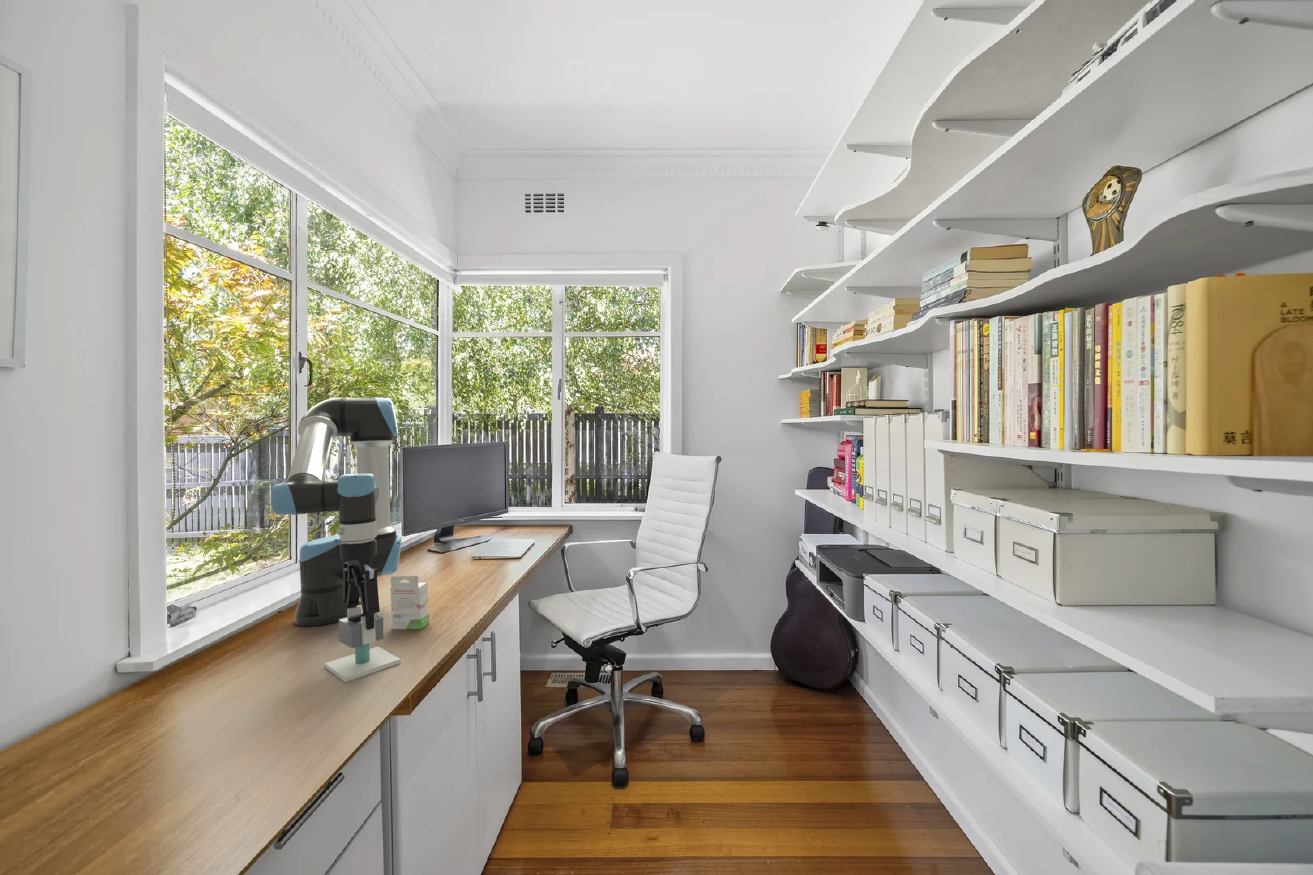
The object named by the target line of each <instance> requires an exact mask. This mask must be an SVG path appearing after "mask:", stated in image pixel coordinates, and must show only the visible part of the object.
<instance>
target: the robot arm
mask: <svg viewBox="0 0 1313 875" xmlns="http://www.w3.org/2000/svg"><path fill="white" fill-rule="evenodd" d="M393 402H394V401H392V400H391V399H390V398H387V397H375V396H373V397H333V398H328V399H326V400H323V401H320V402H319V403H317V404H316V405H314V406H312V407H311V408H309V409H308V410H307V411H306V412H305V414H304V415H303V416H302V417H301V419H300V421H299V424H298V429H297V432H298V435H299V439H298V443H297V446H296V449H295V452H294V456H293V459H292V462H291V466H290V469H289V473H288V477H287V480H286V482H282V483H276V484H274V485H273V486H272V488H271V491H270V506H271V509H272V512H273V513H274V514H275V515H278V516H285V515H290V516H291V515H293V516H296V515H305V514H308V515H309V514H317V513H329V512H330V513H332V512H338V515H339V516H338V517H339V518H338V519H339V520H338V521H339V522H338V523H339V525H338V526H339V528H337V530H336V531H337V533H339V535H338V534H334V535H329V536H326V537H321V538H317V539H313V540H310V541H308V542H305V543H304V544H302V546H301V547H300V549H299V559H298V563H299V577H300V596H299V600H298V604H297V607H296V609H295V613H294V624H295V625H297V626H300V627H317V626H324V625H325V626H326V625H329V624H335V623H339V619H343V618H347V617H351V616H355V615H359V614H361V615H360V617H361V630H362V644H363V645H365V644H368V643H369V644H372V643H374V642H376V634H375V614H377V613H379V612H380V611H381V608H380V601H379V600H380V599H379V597H380V596H379V586H378V585H379V584H378V577H383V576H387V575H393V574H395V573H396V572H397V571H398V569H399V563H400V558H401V557H400V556H401V546H402V538H403V537H402V535H401V534H397V529H396V528H395V527H394V526H393V525H392V522H391V521H392V520H391V499H390V498H391V494H390V466H389V465H390V463H389V462H390V461H389V460H390V459H389V446H390V445H391V444H393V442H394V437H395V436H398V435H399V428H398V422H397V416H396V411H395V408H394V403H393ZM338 437H339V438H340V437H344V438H345V437H350V444H351V445H353V446H354V447H355V448H356V470H357V471H356V473H346V474H341V475H340V476H338V478H337V480H325V481H324V479H325V475H326V469H327V465H328V460H329V455H330V451H331V450H330V449H331V445H332V442H333V441H335V439H336V438H338Z"/></svg>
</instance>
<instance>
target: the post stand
mask: <svg viewBox="0 0 1313 875" xmlns="http://www.w3.org/2000/svg"><path fill="white" fill-rule="evenodd" d="M370 647H371V646H370V643H368V644H365V645H361V646H358V647H354V653H353V654H350V655H346V656H344V657H343V656H342V657H340V658H337V659H333V660H331V661H328V662H325V663H324V668H325V669H326V670H327V671H329V672H330V673H331V674H333V675H335V676H336V677H338V678H339V679H340V680H341V681H343V682H344V683H347V682H350V681H353V680H356V679H359V678H361V677H364V676H368V675H371V674H373V673H376V672H377V673H378V672H380V671H383V670H385V669H388V668H391V667H395V666H398V665H400V664H401V658H400V657H398V656H396V655H395V654H392V653H390V652H389V651H387V650H385V649H383V648H381V647H379V646H376V647H373V648H370Z"/></svg>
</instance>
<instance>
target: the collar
mask: <svg viewBox="0 0 1313 875" xmlns="http://www.w3.org/2000/svg"><path fill="white" fill-rule="evenodd" d="M361 614H362V613H361ZM361 614H359V615H355V616H351V617H347V618H343V619H339V621H338V637H339V638H338V640H339V642H340V643H342V644H343V645H345V646H347V647H349V648H350V649H353V648H354V649H355V647H358V646H361V645H363V644H362V630H361V617H360V615H361ZM375 634H376V641H377V642H378V641H381V640H384V639H385V636H384V635H385V634H384V617H383V616H381V615H379V614H377V613H375ZM376 641H375V642H376Z"/></svg>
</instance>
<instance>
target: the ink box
mask: <svg viewBox="0 0 1313 875" xmlns="http://www.w3.org/2000/svg"><path fill="white" fill-rule="evenodd" d="M405 580H406V581H409V582H401V581H405ZM428 591H429V590H428V582H419V576H418V575H394V576H393V575H392V576H390V605H391V606H390V607H391V610H390V611H391V613H390V614H391V629H392V630H422V629H423V628H424V627H426V626H427V625H429V624H430V617H429V616H430V614H429V610H430V609H429V592H428Z"/></svg>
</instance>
